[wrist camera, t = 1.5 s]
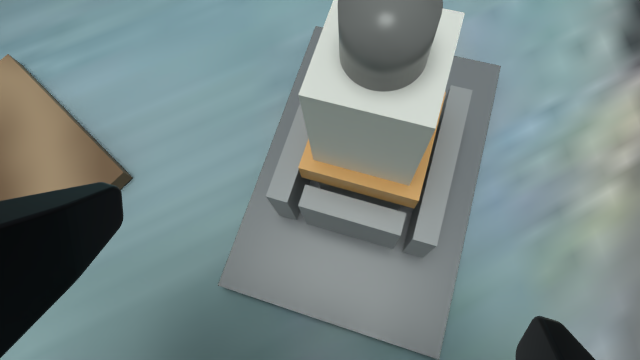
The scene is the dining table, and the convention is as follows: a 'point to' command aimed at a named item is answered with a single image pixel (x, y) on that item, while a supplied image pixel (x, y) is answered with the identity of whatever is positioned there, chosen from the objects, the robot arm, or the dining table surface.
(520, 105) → the dining table surface
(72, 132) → the pad
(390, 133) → the plug
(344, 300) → the socket panel
